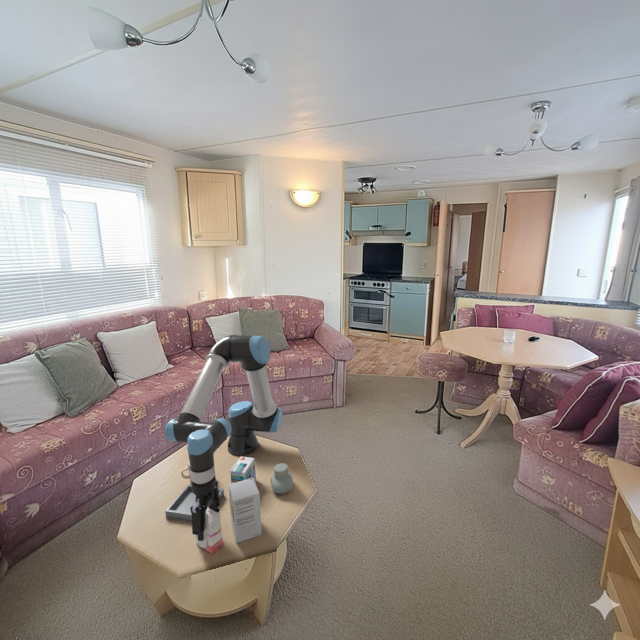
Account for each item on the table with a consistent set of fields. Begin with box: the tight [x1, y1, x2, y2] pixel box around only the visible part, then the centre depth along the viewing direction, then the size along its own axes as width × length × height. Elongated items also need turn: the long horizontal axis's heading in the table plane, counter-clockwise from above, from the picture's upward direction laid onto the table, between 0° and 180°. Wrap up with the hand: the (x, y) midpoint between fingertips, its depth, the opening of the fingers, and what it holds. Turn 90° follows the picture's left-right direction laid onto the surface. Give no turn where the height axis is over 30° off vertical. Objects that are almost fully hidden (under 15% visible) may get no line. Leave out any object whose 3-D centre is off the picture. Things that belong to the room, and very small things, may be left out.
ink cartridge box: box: [195, 506, 224, 555], centre depth 115 cm, size 9×5×15 cm, turn 57°
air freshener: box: [270, 462, 294, 495], centre depth 142 cm, size 11×8×10 cm
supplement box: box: [228, 478, 263, 544], centre depth 120 cm, size 10×9×17 cm
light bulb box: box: [229, 456, 257, 484], centre depth 143 cm, size 11×7×11 cm, turn 168°
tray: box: [164, 484, 225, 523], centre depth 133 cm, size 15×16×3 cm
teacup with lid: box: [180, 461, 191, 484], centre depth 147 cm, size 12×9×12 cm
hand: (208, 537), depth 116 cm, fingers closed on ink cartridge box, 6 cm apart
